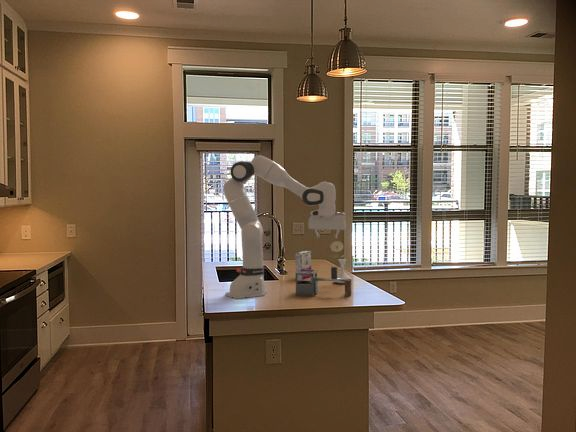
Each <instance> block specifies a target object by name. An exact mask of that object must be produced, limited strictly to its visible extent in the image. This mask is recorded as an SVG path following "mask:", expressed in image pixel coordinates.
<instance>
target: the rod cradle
mask: <svg viewBox="0 0 576 432" xmlns="http://www.w3.org/2000/svg"><path fill="white" fill-rule="evenodd" d="M351 279H352V278H351ZM351 279H348V280H345V283H344V297H351V296H352V281H351Z"/></svg>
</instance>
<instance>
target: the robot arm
mask: <svg viewBox="0 0 576 432" xmlns="http://www.w3.org/2000/svg"><path fill="white" fill-rule="evenodd" d="M253 176H257V177H258V178H261V179H262V180H264V181H266V183H268V184H269V183H270V184H271V185H274V186H277V187H282V188H285V189H287V190H289V191H291V193H294V194H295V195H296V196H298V197H299V198H300V199H301V200H302V202H303V203H304V204H305V205H306V206H309V207H314V206H317V205H318V209H315V210H313V211H310V217H309V218H308V222H307V223H308V230H314V232H315V235H316V238H318V239H319V238H321V234H319V232H318V231H319V230H326V231H327V230H331V231H333V230H334V231H335V230H336V231H335V232H336V233H335V234H334V235H333V236H334V237H333V238H334V239H338V234H339V233H340V231H345V230H346V229H347V218H348V217H347V214H346V213H344V212H336V200H337V196H336V194H337V192H336V187H335V184H333V183H332V182H329V181H328V182H327V181H321V182H319V183H318V184H316V185H313V186H311V187H308V186H306V185H304V184H302V183H300V182H299V181H297V180H295V179H294V178H293V177H291V176H290V174H289V173H288V172H287V171H286V169H284V167H282V166H281V165H280V164H279V163H277V162H275V161H274V160H272V159H270V158H269V157H266V156H263V155H259V154H258V155H255V156H254V157H253V158H252V159H251V161H242V160H241V161H236V162H235V163H233V164H232V165H231V167H230V177H231V178H230V179H228V180H226V182H225V183H224V184H223V185H222V186H223V192H224V196H225V198H226V201H227V203H228V206H229V208H230V211H231V212H232V214H233V216H234V218H235V220H236V222H237V224H238V225H239V228H240V229H241V231H240V233H241V234H240V235H241V249H242V250H241V251H242V267H241V268H237V269H236V273H239V275H238V276H237V277H236V278H235V279H234V280H233V281H231V283H230V284H229V291H227V292H225V296H226V297H228V296H229V298H232V297H233V299H245V297H247V298H253V297H263V296H265V294H267V289H266V284H265V279H264V278H265V277H264V276H265V267H264V250H263V249H264V248H263V244H264V243H263V233H264V229H263V226H262V223H261V221H260V219H259V217H258V215H257V213H256V211H255V210H254V207H253V205H252V203H251V201H250V199H249V196H248V194H247V192H246V189H245V187H244V185H245V184H246V183H247V182H249V181H250V180H251V179H252V177H253Z"/></svg>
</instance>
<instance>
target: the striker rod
mask: <svg viewBox="0 0 576 432" xmlns="http://www.w3.org/2000/svg"><path fill="white" fill-rule="evenodd" d="M330 268H331V269H330V271H331V272H330V277H318V276H317V277H315V276H314V295H315V294H317V293H318V292H319V286H318V285H319V282H334V281H345V280H348V278H338V274H339V273H338V271H339V270H338V268H339V266H336V265H335V266H334V265H333V266H331V267H330ZM309 281H310V285H312V277H310V280H309Z"/></svg>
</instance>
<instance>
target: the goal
mask: <svg viewBox="0 0 576 432" xmlns="http://www.w3.org/2000/svg"><path fill="white" fill-rule="evenodd" d="M302 271H311V272H312V273H302ZM302 275H311V277H312V285H310V281H311V280H308V279H307V280H305V279H302ZM311 277H310V278H311ZM314 277H317V278H318V269H311V270H299V271H298V272H296V271H295V296H296V297H315V294H314Z"/></svg>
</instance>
